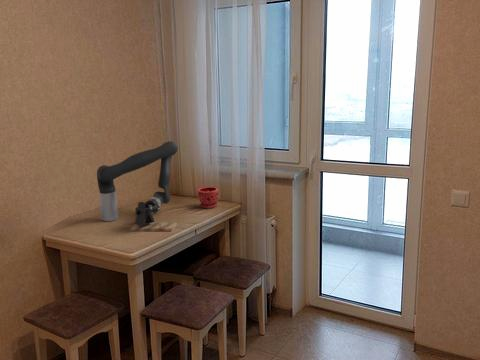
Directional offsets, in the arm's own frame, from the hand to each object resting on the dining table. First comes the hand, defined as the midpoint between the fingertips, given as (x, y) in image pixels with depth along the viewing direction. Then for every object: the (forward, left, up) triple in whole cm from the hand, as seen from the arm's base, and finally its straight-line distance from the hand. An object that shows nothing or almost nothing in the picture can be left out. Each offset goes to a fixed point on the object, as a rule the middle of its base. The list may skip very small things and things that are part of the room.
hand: (142, 213), depth 234 cm
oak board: (+5, +2, -9) cm, 11 cm away
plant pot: (+27, +47, -10) cm, 55 cm away
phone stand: (0, +2, -7) cm, 7 cm away
